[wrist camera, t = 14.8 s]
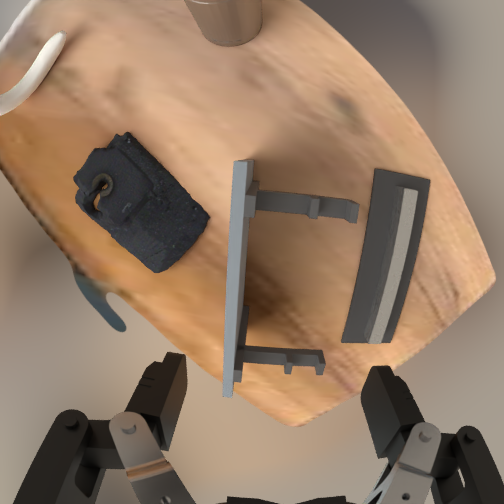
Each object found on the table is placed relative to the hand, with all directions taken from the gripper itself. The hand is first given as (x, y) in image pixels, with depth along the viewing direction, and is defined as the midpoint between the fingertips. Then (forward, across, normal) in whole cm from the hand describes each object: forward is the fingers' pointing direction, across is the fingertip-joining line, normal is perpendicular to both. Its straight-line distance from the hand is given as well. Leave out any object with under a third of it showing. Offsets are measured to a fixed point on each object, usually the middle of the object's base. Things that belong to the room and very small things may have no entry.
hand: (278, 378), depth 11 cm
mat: (+33, -20, +6) cm, 39 cm away
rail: (+33, -20, +6) cm, 39 cm away
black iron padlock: (+34, +21, 0) cm, 40 cm away
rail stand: (+33, -2, +6) cm, 34 cm away
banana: (+33, +43, -25) cm, 60 cm away
